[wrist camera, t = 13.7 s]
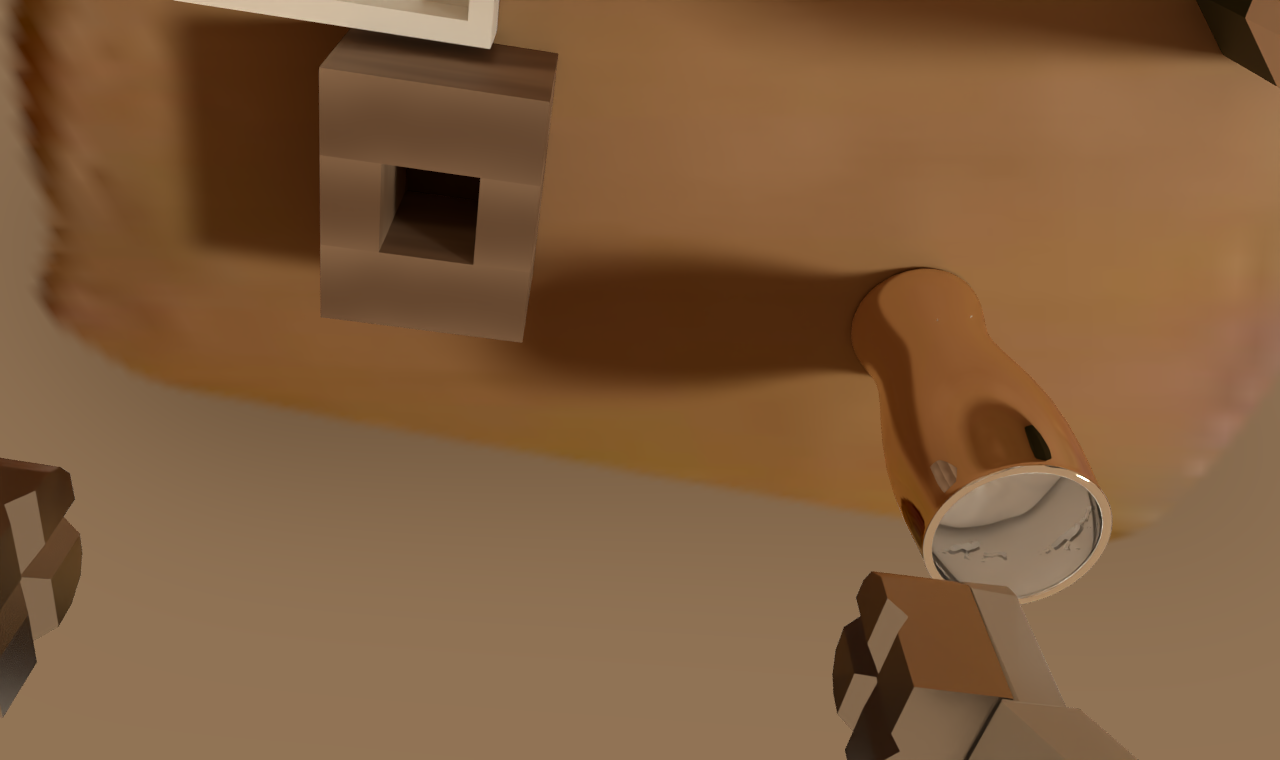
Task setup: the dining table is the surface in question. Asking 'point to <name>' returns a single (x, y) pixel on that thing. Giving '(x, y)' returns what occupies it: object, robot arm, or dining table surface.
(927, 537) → the beer glass
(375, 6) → the tray
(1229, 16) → the wine bottle
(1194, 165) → the dining table surface
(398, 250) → the block
